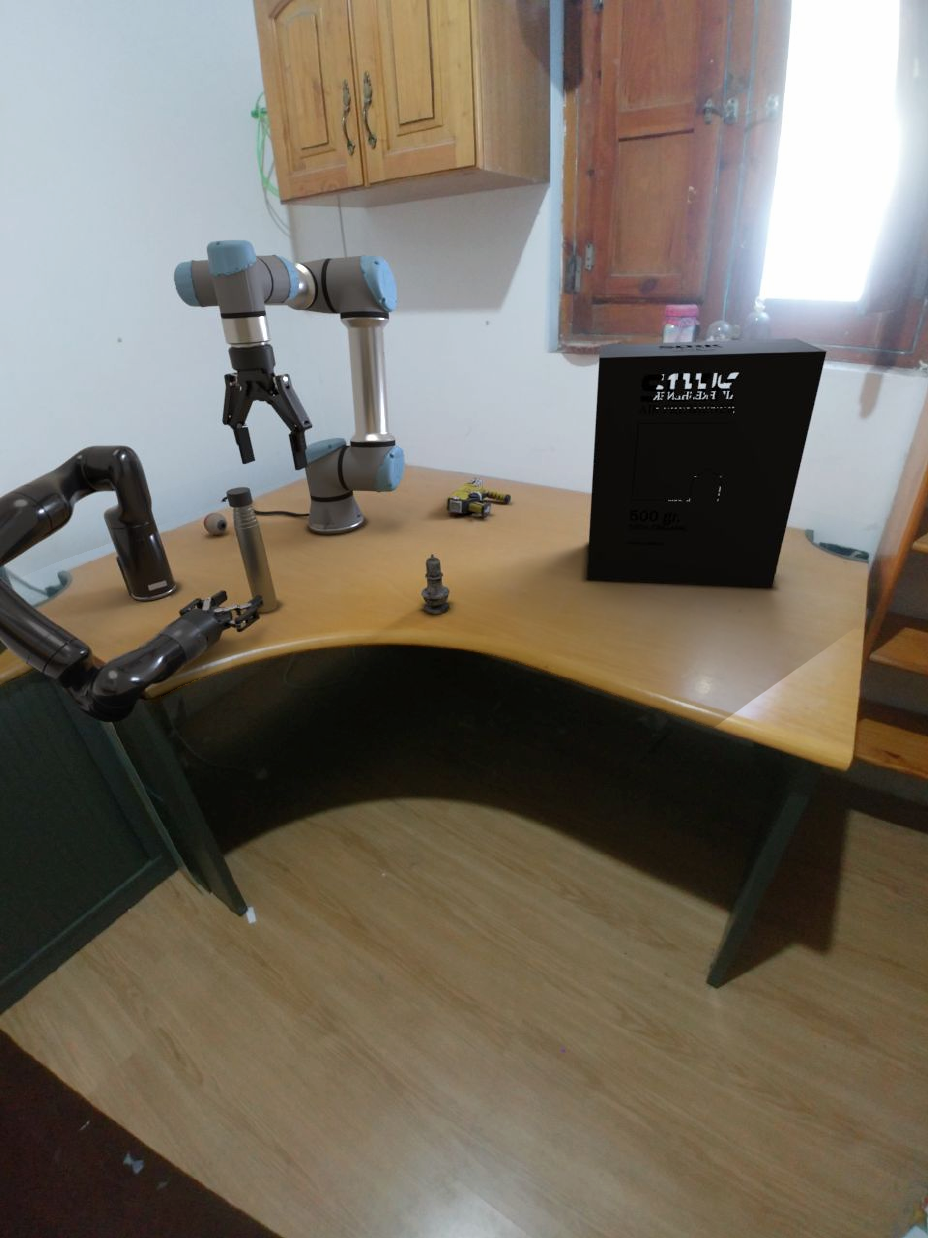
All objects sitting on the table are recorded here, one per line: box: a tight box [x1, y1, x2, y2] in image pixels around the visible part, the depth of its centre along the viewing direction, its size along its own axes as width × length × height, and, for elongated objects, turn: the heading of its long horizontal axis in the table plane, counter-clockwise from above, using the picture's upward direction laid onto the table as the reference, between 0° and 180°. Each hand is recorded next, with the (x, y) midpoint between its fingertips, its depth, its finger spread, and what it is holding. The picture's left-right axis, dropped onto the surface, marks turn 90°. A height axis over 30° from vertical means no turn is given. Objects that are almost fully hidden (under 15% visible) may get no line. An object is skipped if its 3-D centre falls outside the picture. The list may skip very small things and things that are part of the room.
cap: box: [225, 486, 254, 509], centre depth 117 cm, size 4×4×3 cm
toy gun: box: [446, 477, 512, 518], centre depth 177 cm, size 5×24×15 cm
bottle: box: [232, 504, 279, 614], centre depth 123 cm, size 5×5×25 cm
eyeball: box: [203, 512, 228, 536], centre depth 166 cm, size 6×6×6 cm
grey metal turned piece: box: [420, 553, 451, 614], centre depth 122 cm, size 6×6×12 cm
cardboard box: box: [586, 338, 828, 589], centre depth 126 cm, size 38×20×45 cm, turn 78°
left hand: (243, 596), depth 121 cm, fingers open, 8 cm apart
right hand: (274, 465), depth 116 cm, fingers open, 13 cm apart
